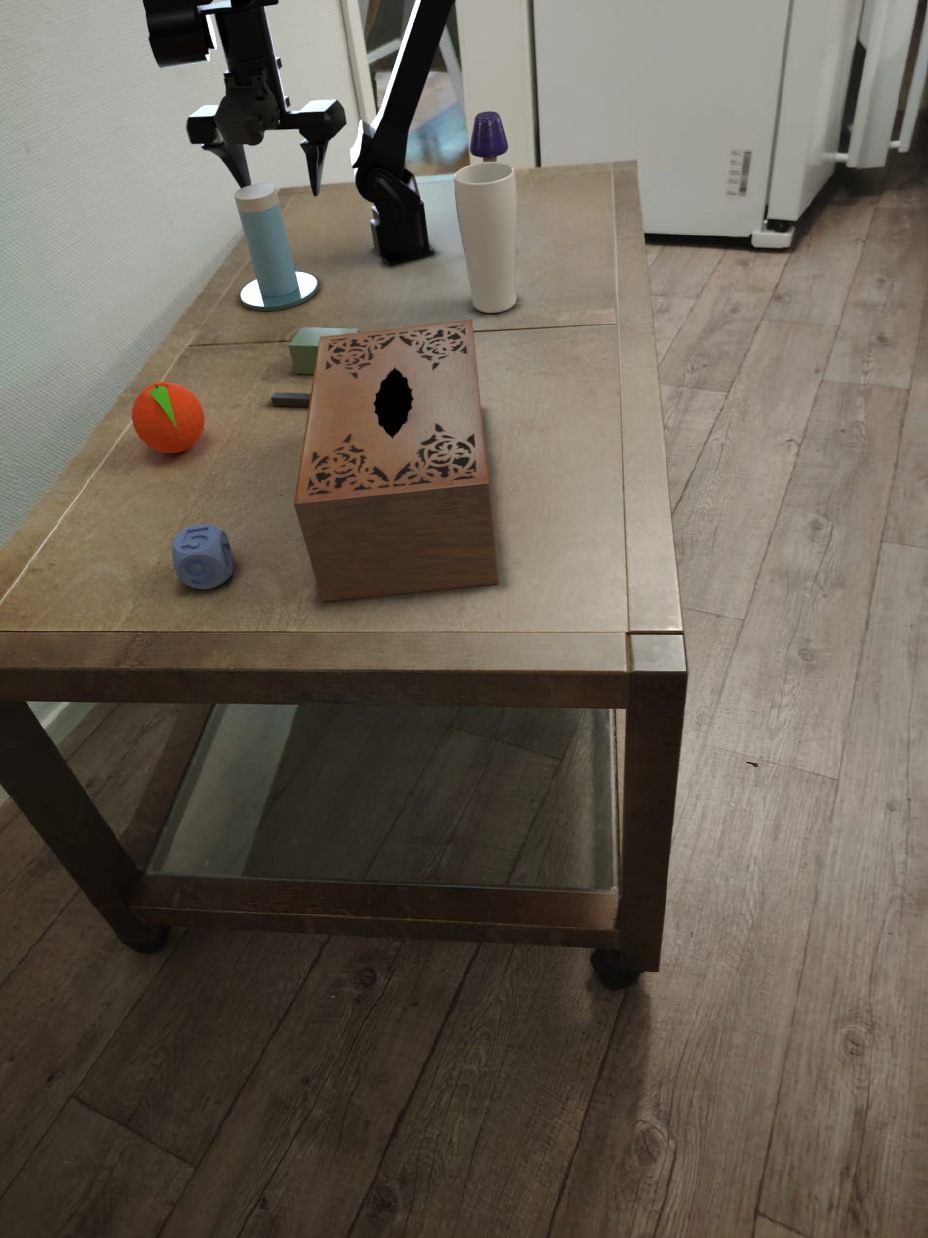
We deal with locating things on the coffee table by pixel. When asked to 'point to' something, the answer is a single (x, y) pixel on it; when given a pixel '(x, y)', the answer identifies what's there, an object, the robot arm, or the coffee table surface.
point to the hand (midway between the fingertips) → (282, 195)
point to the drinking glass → (488, 232)
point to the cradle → (305, 361)
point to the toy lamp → (488, 137)
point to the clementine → (168, 417)
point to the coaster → (263, 303)
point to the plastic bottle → (266, 239)
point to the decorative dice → (202, 556)
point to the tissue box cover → (396, 464)
